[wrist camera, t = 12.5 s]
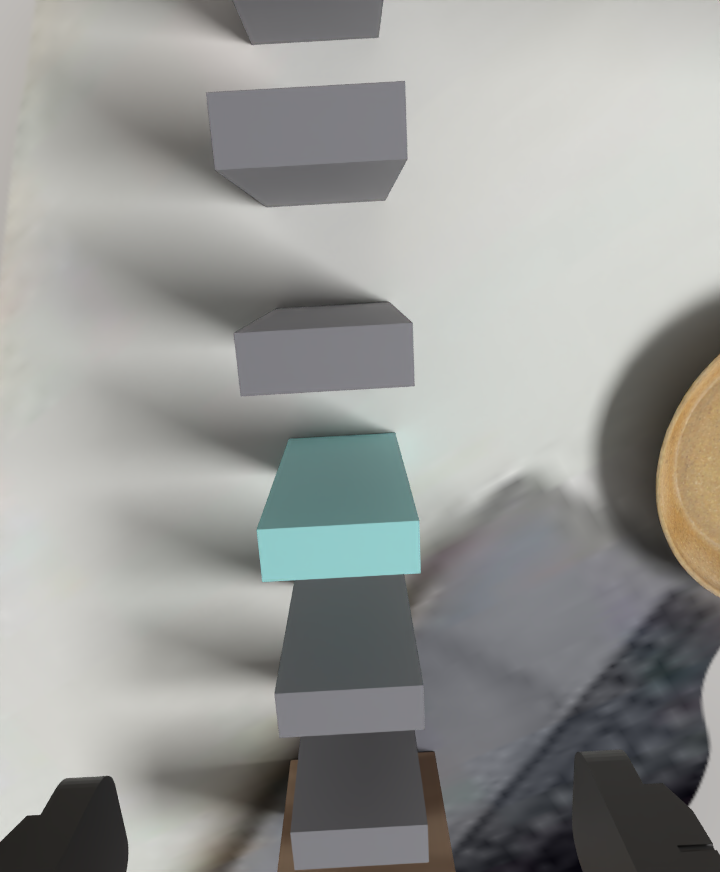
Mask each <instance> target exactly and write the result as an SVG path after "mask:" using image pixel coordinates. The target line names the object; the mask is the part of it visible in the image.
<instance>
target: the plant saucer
mask: <svg viewBox="0 0 720 872" xmlns="http://www.w3.org/2000/svg"><path fill="white" fill-rule="evenodd" d="M656 504H657V511H658V516H659V521H660V524H661V527H662V530H663V533H664V536H665V538H666V540H667V542H668V545H669V547H670V549H671V551H672V552H673V554H674V556H675V557H676V559H677V560H678V562H679V563H680V565H681V566H682V567H683V568H684V569H685V570H686V571H687V573H688V574H689V575H691V577H692V578H694V579H695V580H696V581H697V582H698V583H699V584H700V585H701V586H703V587H704V588H705V589H706V590H708V591H709V592H711V593H713V594H714V595H715V596H718V597H720V354H719V355H718V356H717V357H716V358H715V359H714V360H713V361H712V362H711V363H710V364H709V365H708V366H707V367H706V368H705V369H704V370H703V372H702V373H701V374H700V375H699V376H698V378H697V379H696V380H695V381H694V382H693V384H692V385H691V387H690V388H689V389H688V391H687V392H686V394H685V396H684V397H683V399H682V401H681V402H680V404H679V406H678V408H677V410H676V412H675V413H674V415H673V417H672V420H671V422H670V424H669V426H668V429H667V431H666V434H665V437H664V440H663V443H662V447H661V451H660V455H659V460H658V466H657V472H656Z"/></svg>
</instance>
